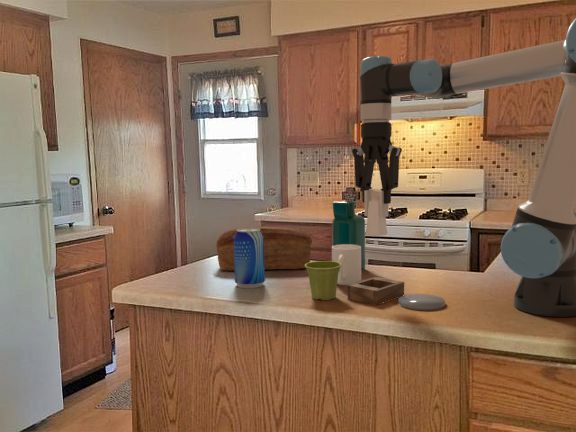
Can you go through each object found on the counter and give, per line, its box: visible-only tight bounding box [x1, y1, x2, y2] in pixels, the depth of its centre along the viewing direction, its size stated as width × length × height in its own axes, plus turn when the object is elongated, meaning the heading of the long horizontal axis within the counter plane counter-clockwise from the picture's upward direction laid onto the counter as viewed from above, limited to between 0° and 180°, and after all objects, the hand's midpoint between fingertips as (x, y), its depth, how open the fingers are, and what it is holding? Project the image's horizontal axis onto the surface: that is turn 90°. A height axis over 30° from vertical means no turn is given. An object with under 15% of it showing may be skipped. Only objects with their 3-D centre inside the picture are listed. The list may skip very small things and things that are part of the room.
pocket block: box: [347, 276, 405, 306], centre depth 140 cm, size 9×12×4 cm
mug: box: [331, 244, 362, 286], centre depth 155 cm, size 12×8×10 cm
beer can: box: [234, 227, 266, 290], centre depth 154 cm, size 8×8×16 cm
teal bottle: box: [332, 200, 366, 272], centre depth 171 cm, size 10×8×22 cm
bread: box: [215, 225, 313, 272], centre depth 178 cm, size 12×31×14 cm, turn 92°
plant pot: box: [305, 260, 342, 301], centre depth 141 cm, size 9×9×9 cm
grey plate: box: [398, 293, 446, 311], centre depth 133 cm, size 11×11×1 cm
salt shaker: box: [365, 190, 388, 237], centre depth 138 cm, size 5×5×11 cm
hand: (376, 216), depth 138 cm, fingers closed on salt shaker, 4 cm apart
